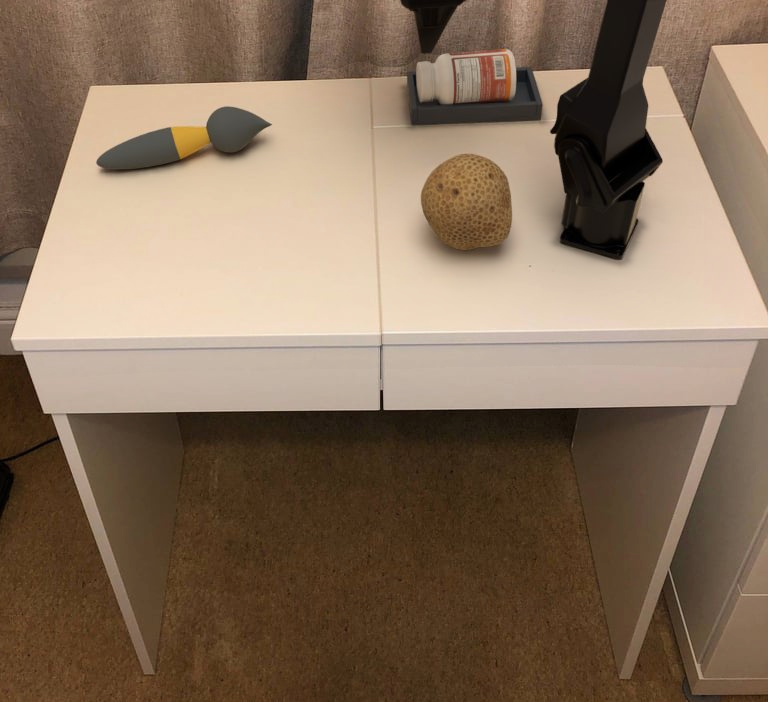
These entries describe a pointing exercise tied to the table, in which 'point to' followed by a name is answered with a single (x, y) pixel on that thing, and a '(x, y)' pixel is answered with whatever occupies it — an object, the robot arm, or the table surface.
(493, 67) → the pill bottle
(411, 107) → the tray
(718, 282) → the table surface
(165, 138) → the paintbrush
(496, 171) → the natural sponge
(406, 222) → the table surface
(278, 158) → the table surface
